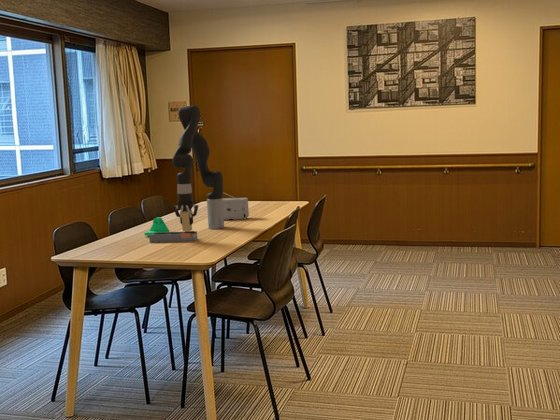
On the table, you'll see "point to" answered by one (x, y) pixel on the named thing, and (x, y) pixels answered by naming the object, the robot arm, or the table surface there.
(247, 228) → the table surface
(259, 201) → the table surface
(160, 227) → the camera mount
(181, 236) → the rail
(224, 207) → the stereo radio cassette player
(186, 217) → the tan upright block
